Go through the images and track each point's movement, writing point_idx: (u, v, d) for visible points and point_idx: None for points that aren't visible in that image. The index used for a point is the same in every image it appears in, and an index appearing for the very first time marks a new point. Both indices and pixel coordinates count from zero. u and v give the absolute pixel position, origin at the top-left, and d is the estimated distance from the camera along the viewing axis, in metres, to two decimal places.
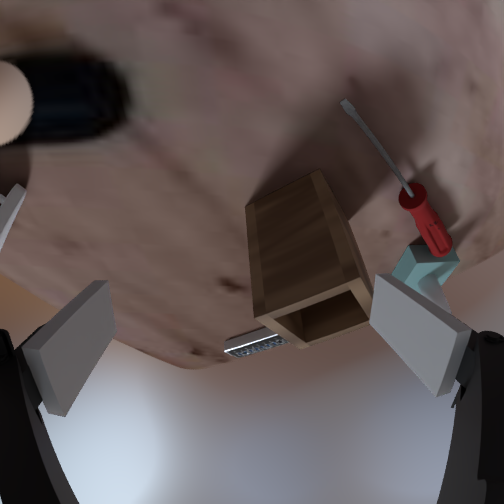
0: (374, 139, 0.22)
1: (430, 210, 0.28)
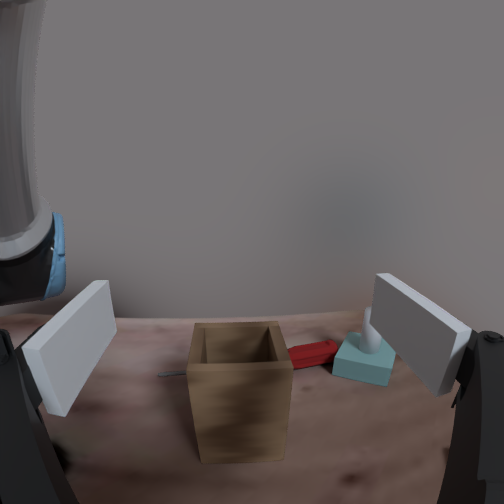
0: None
1: None
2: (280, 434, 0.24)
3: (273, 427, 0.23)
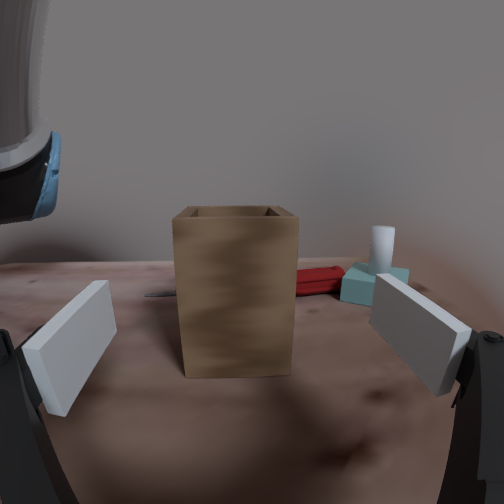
0: None
1: None
2: (285, 328, 0.21)
3: (276, 314, 0.21)
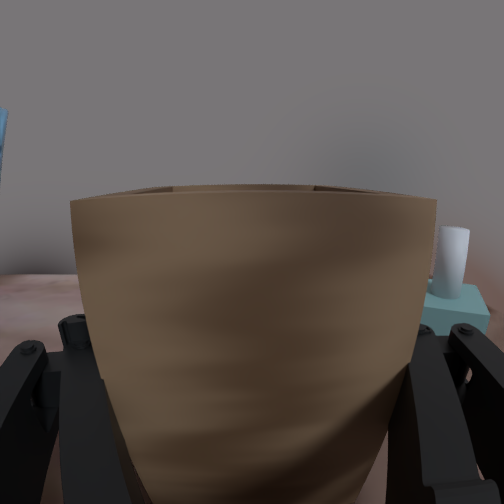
0: None
1: None
2: (366, 448, 0.08)
3: (354, 431, 0.07)
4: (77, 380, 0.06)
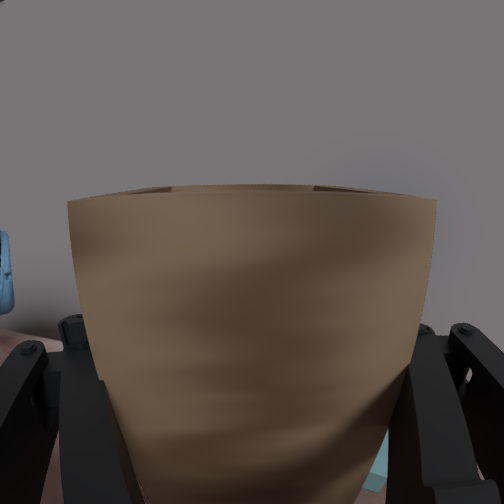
0: None
1: None
2: (365, 449, 0.08)
3: (353, 433, 0.07)
4: (77, 380, 0.06)
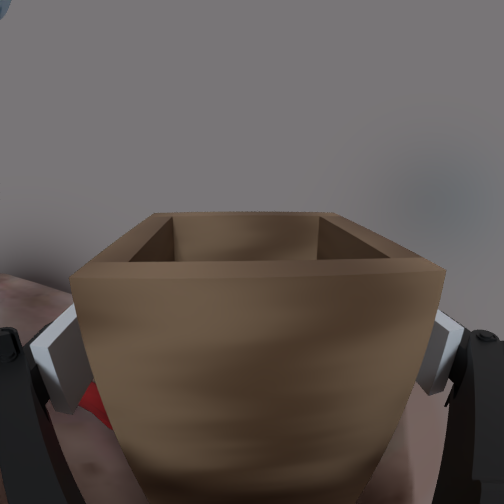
0: None
1: (95, 383, 0.20)
2: (358, 477, 0.08)
3: (347, 465, 0.08)
4: (7, 393, 0.05)
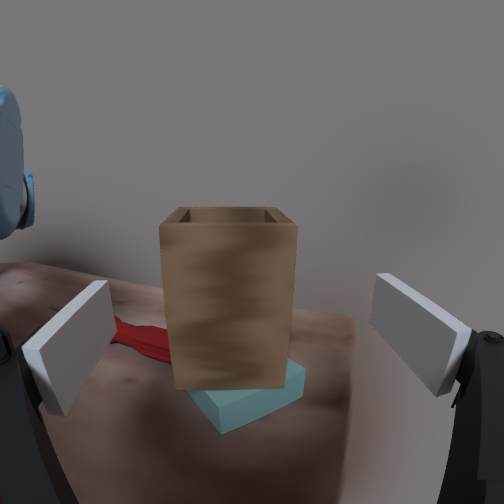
0: None
1: None
2: (280, 341, 0.20)
3: (271, 327, 0.19)
4: (0, 395, 0.05)
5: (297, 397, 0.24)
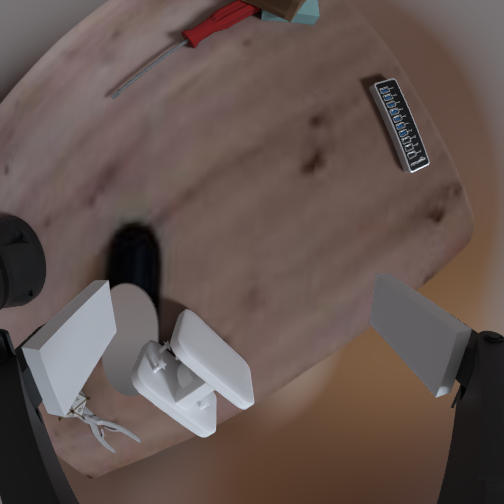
0: (136, 76, 0.34)
1: (200, 23, 0.33)
2: None
3: None
4: (0, 395, 0.05)
5: None
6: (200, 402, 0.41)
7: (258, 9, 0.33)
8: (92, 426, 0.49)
